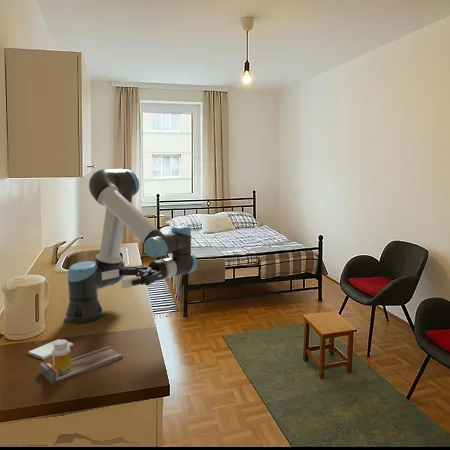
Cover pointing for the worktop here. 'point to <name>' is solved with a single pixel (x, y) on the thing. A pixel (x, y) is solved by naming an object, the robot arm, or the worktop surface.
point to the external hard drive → (45, 350)
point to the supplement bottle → (61, 357)
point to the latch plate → (52, 369)
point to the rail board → (82, 364)
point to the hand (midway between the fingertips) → (111, 280)
